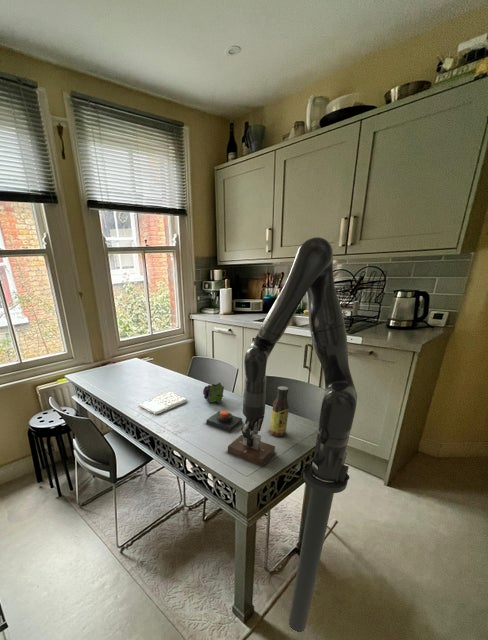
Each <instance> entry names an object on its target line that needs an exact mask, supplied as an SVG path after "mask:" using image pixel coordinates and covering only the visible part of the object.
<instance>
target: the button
mask: <svg viewBox="0 0 488 640" xmlns="http://www.w3.org/2000/svg"><path fill="white" fill-rule="evenodd" d="M229 413H230V412H229V411H228V410H221V411H220V416H221V417H223V418H227V417H228V416H229Z"/></svg>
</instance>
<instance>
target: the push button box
mask: <svg viewBox="0 0 488 640" xmlns="http://www.w3.org/2000/svg"><path fill="white" fill-rule="evenodd" d="M220 412H221V411H220V410H219V411H217V412H215V413H214V414H213V415H211V416H209V417H208V418H207V419H206V421H205V422H206V425H208V426H211V427H214V428H216V429H219V430H222V431H224V432H228V433H231V432H232V431H234V430H235V429H237V428H238V427H239V426H240V425H241V424H243V418H242V417H239V416H236V415H233V414H232V412H231V413H230V412H229V416H228V417H227V418H223V417H221V416H220Z"/></svg>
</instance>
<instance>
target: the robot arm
mask: <svg viewBox="0 0 488 640" xmlns="http://www.w3.org/2000/svg"><path fill="white" fill-rule="evenodd" d="M333 258H334V250H333V247H332V245H331V243H330V242H329V241H328V240H327V239H325V238H323V237H319V236H317V237H316V236H315V237H311V238H307V239H306V240H305V241H304V242H302V243H301V245H299V247H298V249H297V251H296V253H295V258H294V261H293V264H292V267H291V269H290V272H289V274H288V276H287V279H286V281H285V282H284V285H283V287H282V289H281V291H280V292H279V294H278V296H277V297H276V299H275V301H274V302H273V304H272V306H271V307H270V309H269V311H268V313H267V314H266V316H265V318H264V320H263V321H262V323H261V325H260V327H259V330H258V332H257V334H256V336H255V337H254V339H253V340H252V343H251V344H250V346H249V347H248V349H247V351H246V352H245V355H244V360H243V361H244V363H243V364H244V375H245V377H244V389H243V390H244V391H243V394H242V395H243V397H242V415H243V416H244V417H245V421H244V424H245V425H244V426H241V427H240V431H241V435H243V437H244V438H247V446H249V447H252V446H253V438H254V434H257V435H259V432H260V431H261V429H262V426H263V425H262V424H263V422H264V419H265V414H266V400H267V374H266V373H267V364H268V360H269V357H270V356H271V353H272V352H273V349H274V348H275V346H276V345H277V343H278V342H279V341H280V340H281V338H282V337H283V335H284V333H285V332H286V330H287V328H288V327H289V325H290V323H291V321H292V319H293V317H294V316H295V314H296V312H297V310H298V308H299V306H300V304H301V302H302V300H303V299H304V298H305V295H306V294H307V306H308V309H307V311H308V324H309V331H310V337H311V342H312V346H313V349H314V352H315V354H316V356H317V358H318V361H319V362H320V365H321V367H322V368H321V369H322V370H323V377H324V379H323V380H324V393H323V398H322V402H321V408H320V413H319V414H320V415H319V418H318V419H319V420H318V429H317V433H316V434H317V435H316V440H315V446H314V452H313V458H312V463H313V464H312V469H311V474H312V476H313V477H314V478H315V479H316V480H318V481H320V482H323V483H328V484H336V485H337V484H338V482H339V481H341V482H343V481H347V480H348V481H349V480H350V475H349V473H348V472H349V469H350V466H349V465H345V463H346V459H347V455H348V452H347V448H348V443H349V440H350V435H351V430H352V427H353V424H354V423H353V422H354V419H355V414H356V410H357V403H358V402H357V401H358V392H357V389H356V387H355V384H354V380H353V376H352V373H351V369H350V365H349V364H350V363H349V343H348V335H347V328H346V323H345V318H344V314H343V309H342V306H341V302H340V300H339V296H338V293H337V290H336V286H335V278H334V265H333V263H334V262H333V261H334V259H333ZM250 433H251V434H250ZM345 477H346V478H345Z"/></svg>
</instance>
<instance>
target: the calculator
mask: <svg viewBox="0 0 488 640" xmlns="http://www.w3.org/2000/svg"><path fill="white" fill-rule="evenodd" d="M186 402H187V398H185V397H184V396H181V395H178V394H177V393H175V392H172V391H170V392H169V391H168V392H167V393H163V394H160V395H158V396H156V397H153V398H150V399H148V400H146V401H142V402H141V403H140V404H139V405H140V407H141V408H143V409H145V410H146V411H148V412H150V413H152V414H154V415H158V414H161V413H163V412H166V411H169V410H170V409H171V410H172V409H173V408H176V407H178V406H180V405H183V404H185V403H186Z"/></svg>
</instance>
